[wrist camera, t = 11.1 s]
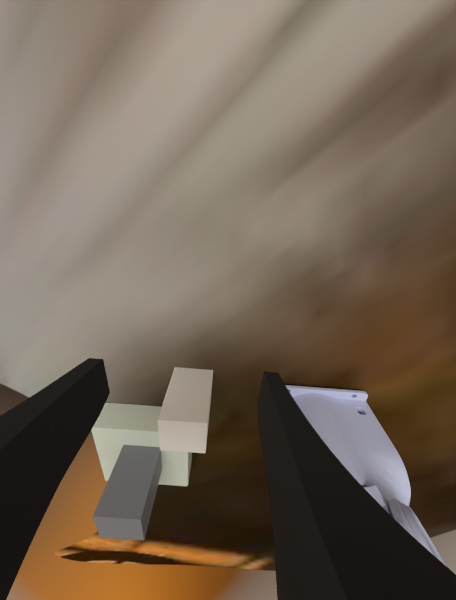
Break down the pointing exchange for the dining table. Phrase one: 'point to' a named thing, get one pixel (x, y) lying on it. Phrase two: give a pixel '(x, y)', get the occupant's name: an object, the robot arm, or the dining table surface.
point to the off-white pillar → (186, 411)
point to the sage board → (136, 440)
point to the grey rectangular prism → (129, 494)
